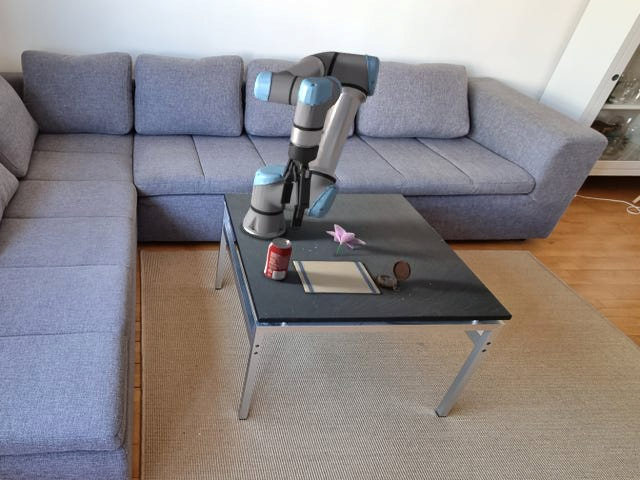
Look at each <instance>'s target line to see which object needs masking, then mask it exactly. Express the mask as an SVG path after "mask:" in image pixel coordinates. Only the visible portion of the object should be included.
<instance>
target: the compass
mask: <svg viewBox="0 0 640 480" xmlns="http://www.w3.org/2000/svg"><path fill="white" fill-rule="evenodd" d="M411 273H412V268H411V265H410V263H408V261H406V260H405V259H401V260H396V261H395V262H394V263H393V265H392V275H393V276H392V275H389V274H379V275H377V276H376V278H375V282H376V283H377V284H378V285H379V286H380V287H382V288H385V289H391V290H394V291H397V292H399V291H400V290H401V289H400V288H399V287H398V286H399V281H406V280H408V279H409V278H410V276H411ZM396 289H397V290H396Z"/></svg>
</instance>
